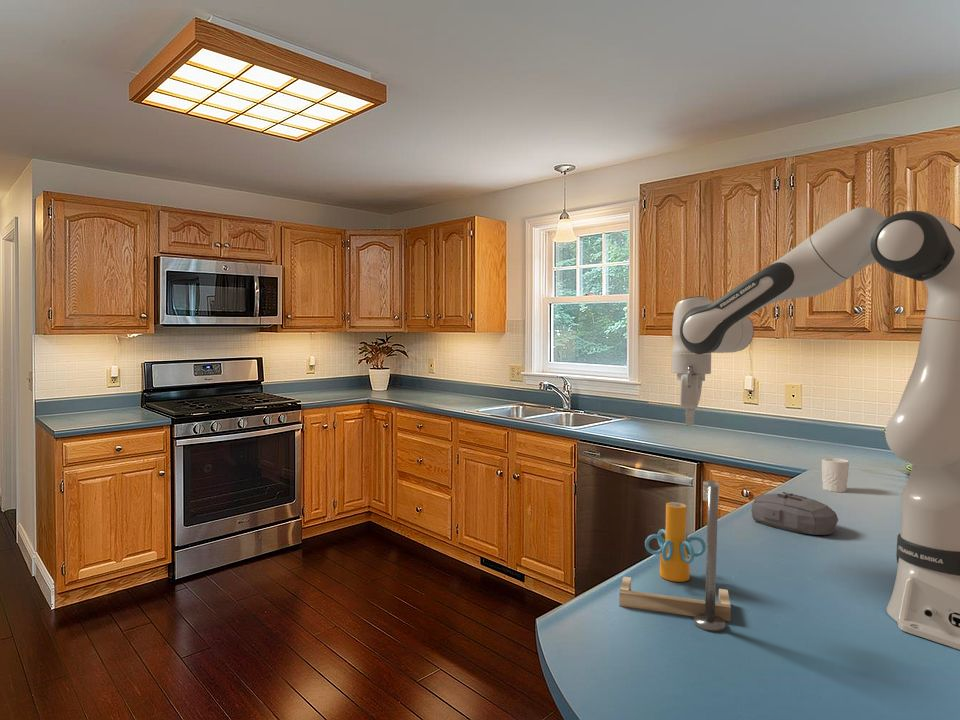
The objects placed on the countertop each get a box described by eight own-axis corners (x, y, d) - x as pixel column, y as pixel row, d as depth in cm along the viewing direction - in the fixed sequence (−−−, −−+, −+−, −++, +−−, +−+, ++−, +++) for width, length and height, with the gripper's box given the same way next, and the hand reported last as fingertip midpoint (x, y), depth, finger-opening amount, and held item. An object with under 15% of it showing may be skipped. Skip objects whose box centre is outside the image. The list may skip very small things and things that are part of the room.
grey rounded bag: (744, 523, 166) (824, 542, 151) (745, 492, 166) (825, 508, 150) (770, 513, 176) (847, 530, 160) (771, 484, 175) (848, 498, 160)
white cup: (848, 489, 205) (849, 459, 204) (847, 494, 198) (848, 463, 198) (821, 485, 209) (822, 456, 209) (819, 490, 202) (820, 460, 202)
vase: (662, 562, 135) (663, 494, 135) (709, 574, 129) (711, 503, 128) (637, 579, 126) (639, 506, 125) (688, 592, 119) (690, 516, 119)
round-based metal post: (693, 603, 115) (696, 475, 114) (722, 607, 113) (725, 477, 112) (694, 629, 104) (698, 488, 104) (726, 633, 103) (730, 491, 102)
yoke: (623, 589, 121) (623, 576, 121) (727, 602, 115) (727, 589, 115) (619, 605, 113) (619, 592, 113) (730, 621, 107) (730, 607, 107)
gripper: (704, 367, 134) (703, 430, 135) (706, 365, 154) (704, 420, 154) (674, 366, 137) (673, 428, 137) (679, 364, 156) (678, 419, 156)
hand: (689, 424), depth 146 cm, fingers closed
